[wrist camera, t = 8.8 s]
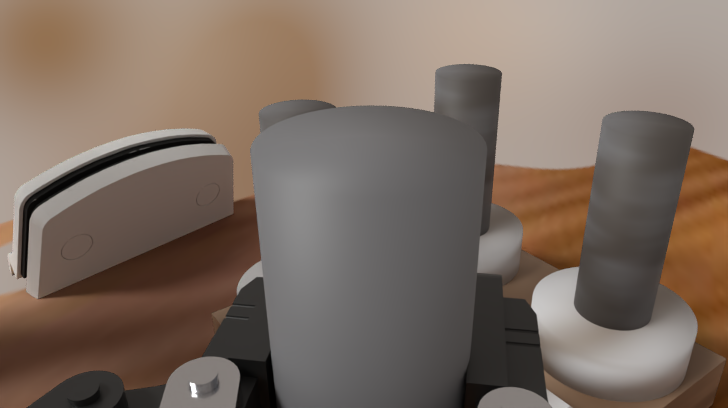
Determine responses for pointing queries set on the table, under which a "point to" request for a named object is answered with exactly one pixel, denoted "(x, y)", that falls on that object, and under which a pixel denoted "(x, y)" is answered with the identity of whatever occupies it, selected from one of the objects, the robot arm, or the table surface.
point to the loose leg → (369, 255)
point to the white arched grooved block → (117, 205)
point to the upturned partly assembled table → (588, 259)
